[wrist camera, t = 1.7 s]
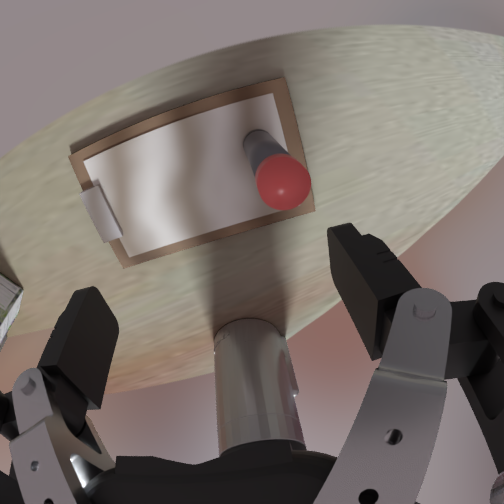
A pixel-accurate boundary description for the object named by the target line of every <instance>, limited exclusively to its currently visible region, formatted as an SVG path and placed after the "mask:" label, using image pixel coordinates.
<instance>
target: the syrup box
mask: <svg viewBox="0 0 504 504" xmlns="http://www.w3.org/2000/svg"><path fill="white" fill-rule="evenodd" d="M22 294H23V289H22V288H21V287H19V286H18V285H16V284H15V283H13V282H12V281H10V280H9V279H8V278H6V277H5V276H3V275H2V274H1V273H0V345H1V343H2V341H3V339H4V337H5V336H6V334H7V332H8V330H9V328H10V327H11V325H12V323H13V322H14V320H15V318H16V316H17V315H18V313H19V308H20V303H21V299H22Z"/></svg>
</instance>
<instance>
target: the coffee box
mask: <svg viewBox="0 0 504 504" xmlns="http://www.w3.org/2000/svg"><path fill="white" fill-rule="evenodd" d="M6 339H7V336H5V337H4V339H3V341H2V343H1V345H0V351H1V349H2V347H3V345H4V343H5V341H6Z"/></svg>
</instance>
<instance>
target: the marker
mask: <svg viewBox="0 0 504 504" xmlns="http://www.w3.org/2000/svg"><path fill="white" fill-rule="evenodd" d="M243 148H244V151H245V153H246V156H247V158H248V161H249V163H250V166H251V169H252V171H253V174H254V176H255V182H256V186H257V189H258V191H259V194H260V196H261V198H262V200H263V201H264V202H265V203H266V204H267V205H268V206H270V207H271V208H274V209H277V210H289V209H293V208H295V207H297V206H299V205H300V204H301V203H302V202H304V200H305V199H306V198H307V196H308V194H309V192H310V188H311V179H310V175H309V173H308V171H307V170H306V168H305V167H304V166H303V165H302V164H301V163H300V162H299V161H298V160H297V159H296V158H294V157H292V156H291V155H290V154H289V153H288V152H287V151H286V150H285V149H284V148H283V147H282V146H281V145H280V144H279V143H278V142H277V141H276V140H275V139H274V138H273V137H272V136H271V135H270V134H269V133H268V132H267V131H265V130H262V129H255V130H252V131H250V132H248V133H247V134H246V136H245V137H244V140H243Z"/></svg>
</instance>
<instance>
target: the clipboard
mask: <svg viewBox="0 0 504 504" xmlns="http://www.w3.org/2000/svg"><path fill="white" fill-rule="evenodd" d="M255 129H262V130H265V131H267V132H268V133H269V134H270V135H271V136H272V137H273V138H274V139H275V140H276V141H277V142H278V143H279V144H280V145H281V146H282V147H283V148H284V149H285V150H286V151H287V152H288V153H289V154H290V155H291V156H292V157H294V158H296V159H297V160H298V161H299V162H300V163H301V164H302V165H303V166H304V167H305V168H306V170H307V166H306V161H305V157H304V152H303V148H302V144H301V139H300V135H299V131H298V127H297V122H296V118H295V114H294V110H293V106H292V102H291V98H290V95H289V91H288V87H287V83H286V80H285V77H283V78H278V79H274V80H270V81H265V82H261V83H257V84H253V85H249V86H245V87H242V88H238V89H234V90H231V91H227V92H224V93H220V94H217V95H214V96H211V97H207V98H204V99H201V100H198V101H195V102H192V103H189V104H186V105H183V106H181V107H178V108H175V109H172V110H170V111H167V112H164V113H162V114H159V115H156V116H154V117H151V118H149V119H146V120H144V121H141V122H139V123H137V124H134V125H132V126H130V127H127V128H125V129H123V130H120V131H118V132H116V133H114V134H112V135H109V136H107V137H105V138H103V139H101V140H99V141H97V142H95V143H93V144H91V145H89V146H87V147H85V148H83V149H81V150H79V151H77V152H75V153H73V154H71V155H70V156H68V157H69V160H70V162H71V165H72V167H73V169H74V171H75V174H76V176H77V178H78V180H79V183H80V185H81V187H82V189H83V191H82V192H81V193H80V194H79V195H80V197H81V199H82V201H83V203H84V205H85V207H86V209H87V211H88V213H89V215H90V217H91V219H92V221H93V223H94V225H95V227H96V229H97V231H98V233H99V235H100V237H101V238H102V240H103V242H104V243H106V242H108V241H109V243H110V245H111V247H112V249H113V251H114V253H115V254H116V256H117V258H118V260H119V262H120V263H121V265H122V267H123V269H124V268H127V267H130V266H133V265H136V264H140V263H143V262H146V261H149V260H152V259H156V258H159V257H162V256H165V255H168V254H172V253H175V252H178V251H181V250H185V249H188V248H191V247H194V246H198V245H201V244H204V243H208V242H211V241H214V240H218V239H221V238H224V237H228V236H231V235H234V234H238V233H241V232H245V231H248V230H251V229H255V228H258V227H262V226H265V225H268V224H272V223H275V222H279V221H282V220H286V219H289V218H293V217H296V216H300V215H303V214H307V213H310V212H314V211H315V205H314V200H313V195H312V190H311V188H310V192H309V194H308V196H307V198H306V199H305V200H304V202H302V203H301V204H300V205H299V206H297V207H295V208H293V209H289V210H277V209H274V208H271V207H270V206H268V205H267V204H266V203H265V202H264V201H263V200H262V198H261V196H260V194H259V191H258V189H257V186H256V182H255V176H254V174H253V171H252V169H251V166H250V163H249V161H248V158H247V156H246V153H245V151H244V148H243V140H244V137H245V136H246V134H247V133H248V132H250V131H252V130H255Z"/></svg>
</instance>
